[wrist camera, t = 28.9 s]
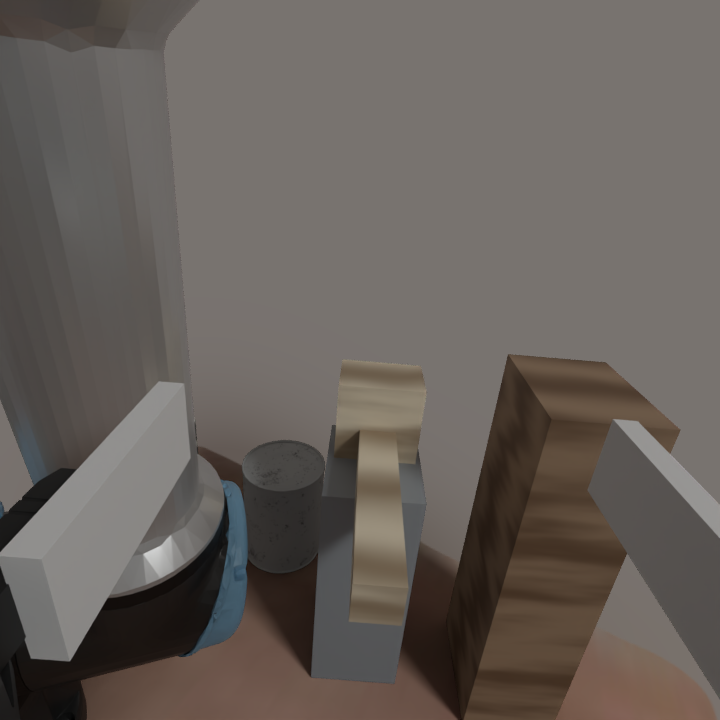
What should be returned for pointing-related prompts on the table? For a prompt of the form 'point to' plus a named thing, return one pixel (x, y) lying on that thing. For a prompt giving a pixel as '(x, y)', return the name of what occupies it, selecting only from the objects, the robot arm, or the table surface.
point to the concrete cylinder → (283, 504)
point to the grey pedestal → (331, 623)
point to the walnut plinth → (539, 537)
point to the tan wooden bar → (378, 479)
